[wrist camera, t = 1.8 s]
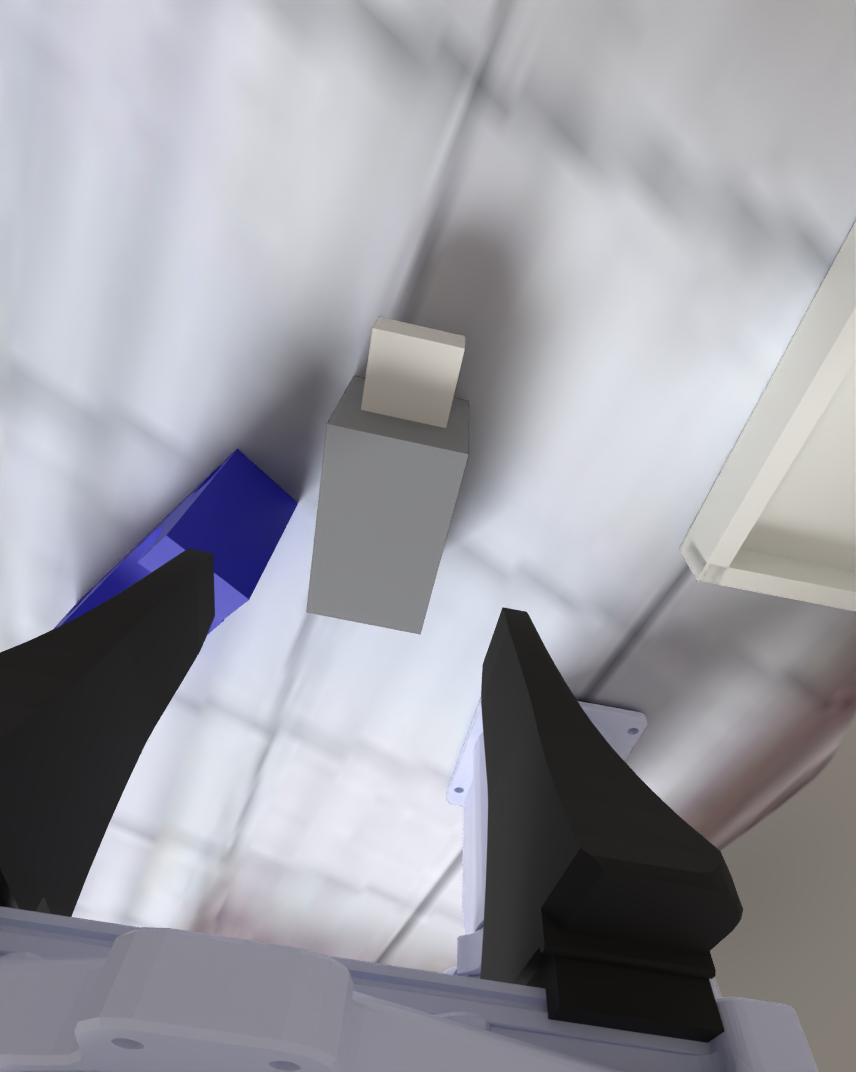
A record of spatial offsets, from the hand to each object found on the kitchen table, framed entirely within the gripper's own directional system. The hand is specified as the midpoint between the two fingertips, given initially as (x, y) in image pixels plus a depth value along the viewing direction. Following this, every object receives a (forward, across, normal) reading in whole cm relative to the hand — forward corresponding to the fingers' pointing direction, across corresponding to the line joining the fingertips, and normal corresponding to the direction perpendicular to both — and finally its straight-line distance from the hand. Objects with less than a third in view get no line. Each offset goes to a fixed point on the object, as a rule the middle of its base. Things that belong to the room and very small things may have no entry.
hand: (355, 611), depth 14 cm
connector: (+8, 0, -1) cm, 8 cm away
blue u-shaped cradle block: (+8, +8, +7) cm, 13 cm away
